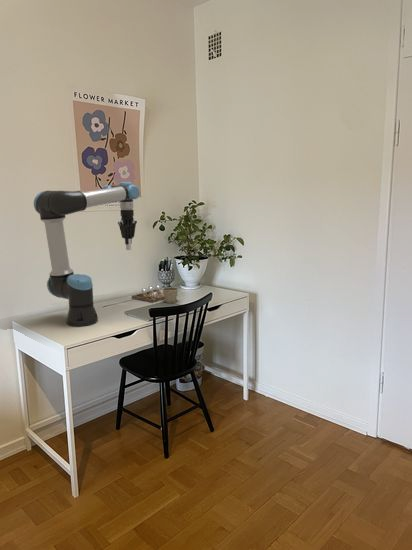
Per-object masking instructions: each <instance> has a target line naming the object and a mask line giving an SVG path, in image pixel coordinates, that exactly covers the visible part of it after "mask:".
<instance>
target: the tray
mask: <svg viewBox="0 0 412 550" xmlns="http://www.w3.org/2000/svg"><path fill="white" fill-rule="evenodd" d="M153 292H156V289H153ZM147 295H148V291H147ZM157 296H158V298H155V299H148V298H143V297H142V292H141V293H137V294H133V295H131V299H132V300H136V301H142V302H146V303H151V304H153V303H157V302H160V301H163V300H164V301H165V298H164V293H163V292H161V294H157ZM178 296H179V295H178V294H177V297H178Z"/></svg>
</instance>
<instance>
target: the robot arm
mask: <svg viewBox="0 0 412 550" xmlns="http://www.w3.org/2000/svg"><path fill="white" fill-rule="evenodd" d="M139 196H140V189H139V187H138V186H137V185H135V184H133V183H132V182H130V181H120V182H119V183H118V184H117V185H116V184H115V185H110V184H109V185H104V186H103V187H102V189H95V190H89V191H82V190H76V191H75V190H74V191H73V190H45V191H40V192H39V193H37V195H36V196H35V197H34V199H33V207H34V210H35V211H36V212H37V213H38V214H39V217H40V221H41V222H43V223H44V227H45V233H46V240H47V248H48V253H49V259H50V266H51V271H50V272H49V277H48V280H47V281H46V287H47V291H48V292H49V293H50V294H51V295H52V296H54V297H56V298H59V299H66V300H68V310H67V311H68V312H67V315H66V319H65V321H66V325H68V326H72V327H86V326H90V325H94V324H96V323H98V322H99V317H98V314H97V311H96V309H95V305H94V291H93V290H94V288H93V285H94V284H93V280H92V277H91V276H89V275H87V274H80V273H75V274H74V270H73V269H72V268H71V267H70V261H69V254H68V246H67V242H66V234H65V233H66V232H65V227H64V220H65V219H66V216H68V215H72V214H74V213H75V214H76V213H78V212H82V211H83V212H84V211H85V210H86V209H87V208H91V207H92V208H93V207H97V206H103V205H108V204H112V203H117V202H119V208H120V217H121V219H120V221H117V225H118V227H119V230H120V235H121V238H122V239H124V243H125V250H126V251H131V250H132V240H133V239H134V237H135V233H136V227H137V226H136V225H137V222H138V220H135V219H134V215H135V212H134V200H137V199H138V198H139Z"/></svg>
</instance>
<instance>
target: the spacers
mask: <svg viewBox="0 0 412 550" xmlns="http://www.w3.org/2000/svg"><path fill="white" fill-rule="evenodd" d="M147 290H148V291H147ZM153 290H154V287H153V286H148V287H147V288H141V293H142V297H143V298H144V296H145V295H147V292H148V295H152V299H155V298H158V296H157V294H161V293H162V291H161V290H162V289H161V284H160V285H159V284H158V285H155V290H156V292H153Z"/></svg>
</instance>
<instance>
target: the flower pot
mask: <svg viewBox="0 0 412 550" xmlns="http://www.w3.org/2000/svg"><path fill="white" fill-rule="evenodd" d="M161 290H162V293H164V298H165V299H164V302H165V303H168V304H172V303H176V302H177V297H178V296H177V295H178V290H179V287H176V286H175V287H174V286H172V287H171V286H170V287H169V286H168V287H163V288H162V289H161Z"/></svg>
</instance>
